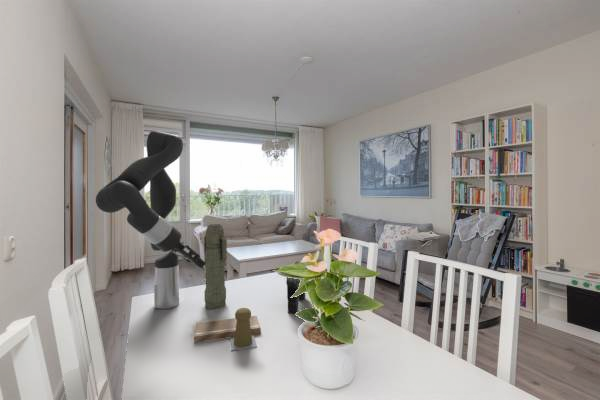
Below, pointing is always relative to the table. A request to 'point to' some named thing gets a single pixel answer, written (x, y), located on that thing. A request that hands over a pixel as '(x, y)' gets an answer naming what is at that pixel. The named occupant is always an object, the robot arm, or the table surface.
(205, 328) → the walnut board
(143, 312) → the table surface
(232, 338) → the slate end mark
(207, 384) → the table surface
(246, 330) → the olive game pawn
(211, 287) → the thermos
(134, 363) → the table surface
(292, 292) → the ceramic cat
